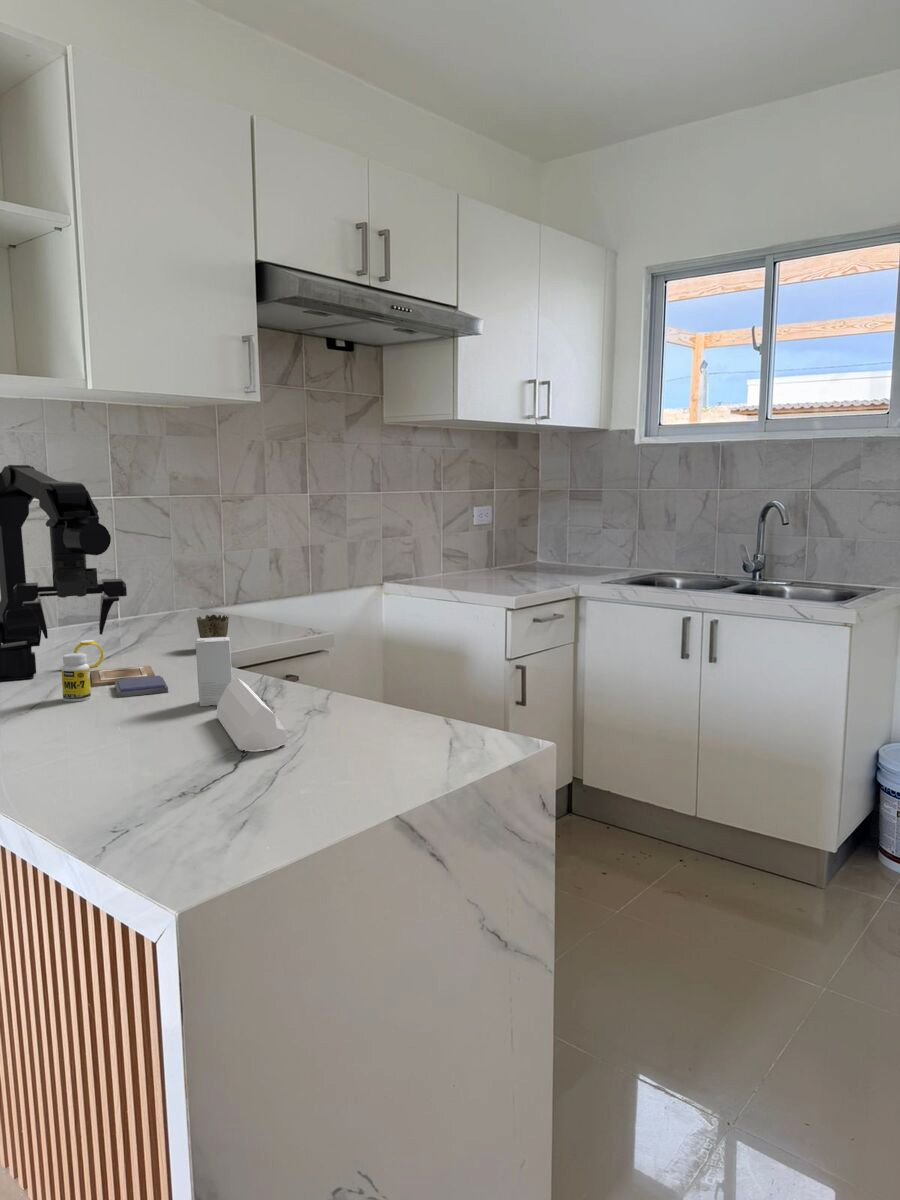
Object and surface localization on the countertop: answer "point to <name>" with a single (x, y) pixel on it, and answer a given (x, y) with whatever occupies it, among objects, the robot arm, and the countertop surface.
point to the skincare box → (213, 668)
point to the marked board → (119, 674)
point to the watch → (90, 642)
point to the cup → (213, 626)
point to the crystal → (248, 718)
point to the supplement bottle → (75, 678)
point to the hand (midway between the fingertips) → (74, 636)
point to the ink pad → (140, 686)
